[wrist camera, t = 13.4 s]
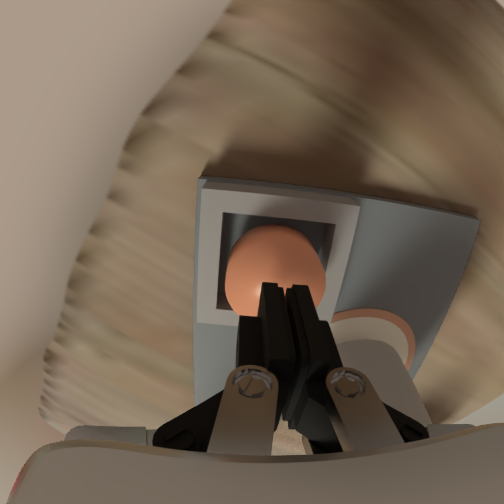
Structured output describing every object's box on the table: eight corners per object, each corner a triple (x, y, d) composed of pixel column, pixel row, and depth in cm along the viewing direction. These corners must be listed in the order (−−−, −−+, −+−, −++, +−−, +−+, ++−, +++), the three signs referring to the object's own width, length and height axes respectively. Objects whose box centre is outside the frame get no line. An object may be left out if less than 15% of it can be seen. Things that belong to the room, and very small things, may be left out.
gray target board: (473, 216, 16) (494, 229, 14) (389, 406, 24) (396, 425, 22) (200, 175, 15) (192, 185, 13) (196, 406, 23) (192, 428, 21)
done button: (325, 229, 15) (335, 246, 13) (308, 306, 16) (314, 330, 15) (231, 219, 14) (228, 235, 12) (224, 300, 16) (222, 323, 14)
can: (286, 345, 19) (312, 533, 8) (399, 318, 18) (483, 474, 7) (301, 411, 22) (320, 552, 11) (392, 388, 21) (440, 516, 10)
